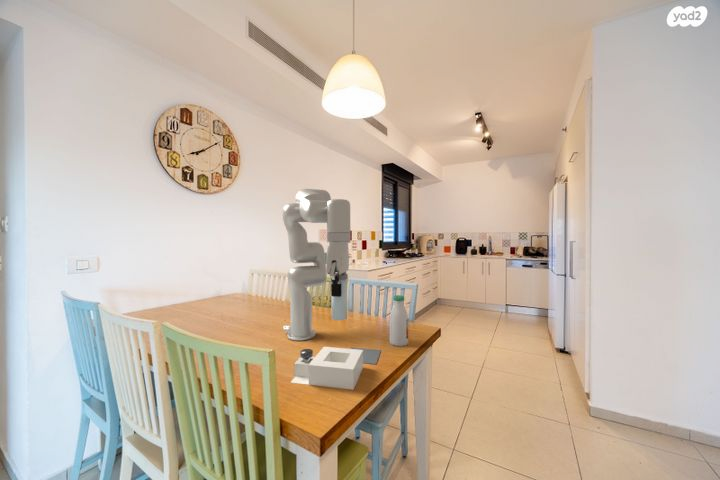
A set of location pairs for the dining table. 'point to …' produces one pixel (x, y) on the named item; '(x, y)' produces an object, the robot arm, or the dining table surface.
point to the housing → (330, 368)
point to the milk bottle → (398, 322)
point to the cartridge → (340, 301)
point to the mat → (369, 355)
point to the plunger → (306, 354)
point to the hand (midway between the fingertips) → (339, 293)
